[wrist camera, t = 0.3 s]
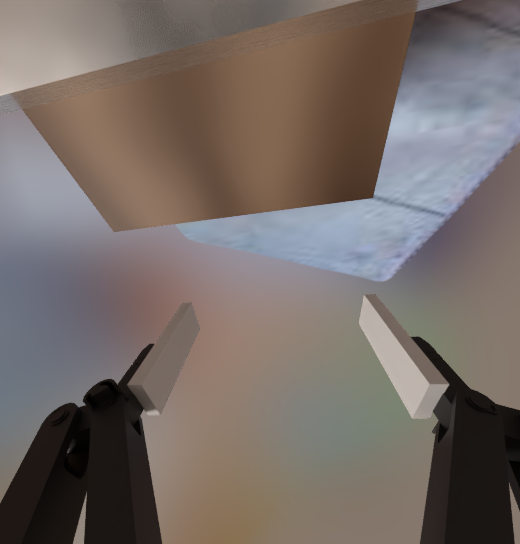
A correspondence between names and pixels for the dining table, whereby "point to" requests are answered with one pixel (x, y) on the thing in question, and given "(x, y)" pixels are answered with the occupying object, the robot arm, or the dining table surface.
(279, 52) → the walnut stand
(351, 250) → the dining table surface
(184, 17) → the metal bar
